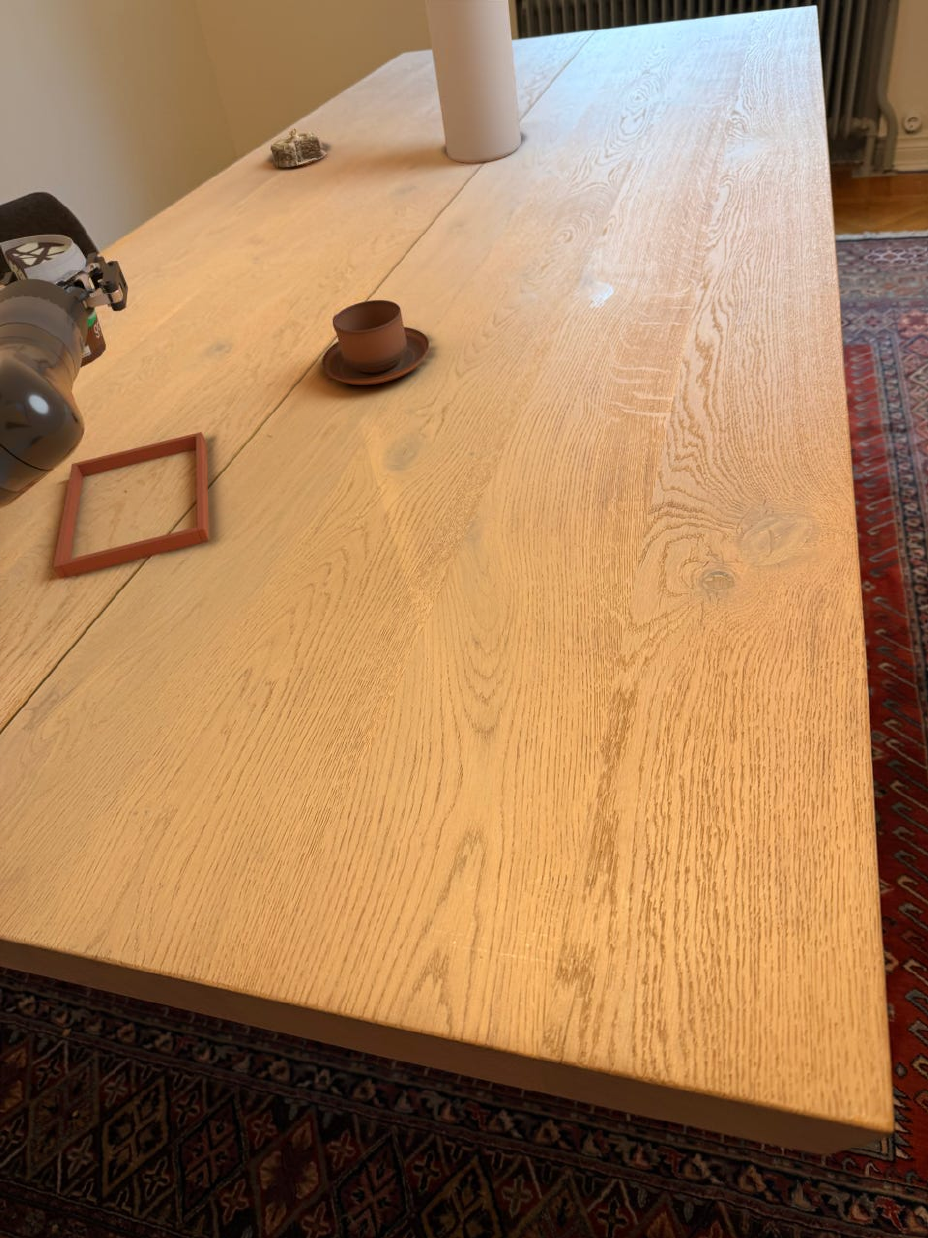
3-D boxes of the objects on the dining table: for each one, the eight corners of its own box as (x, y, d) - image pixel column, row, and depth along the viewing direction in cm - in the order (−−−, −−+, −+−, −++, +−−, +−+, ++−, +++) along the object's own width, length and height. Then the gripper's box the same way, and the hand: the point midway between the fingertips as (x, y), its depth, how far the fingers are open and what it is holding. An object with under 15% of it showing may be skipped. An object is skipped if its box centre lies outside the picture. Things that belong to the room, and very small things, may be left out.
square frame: (65, 588, 80) (53, 566, 78) (82, 484, 92) (71, 463, 91) (213, 550, 81) (203, 528, 79) (209, 452, 93) (201, 431, 91)
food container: (133, 356, 87) (94, 250, 81) (70, 377, 85) (25, 270, 79) (99, 322, 96) (61, 224, 89) (41, 341, 93) (-2, 241, 87)
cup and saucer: (307, 391, 100) (292, 339, 95) (355, 339, 107) (343, 289, 103) (405, 398, 95) (393, 344, 91) (448, 344, 103) (439, 291, 99)
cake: (263, 171, 164) (252, 139, 161) (299, 153, 170) (290, 122, 167) (301, 169, 159) (291, 136, 156) (338, 151, 164) (329, 118, 161)
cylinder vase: (485, 135, 159) (465, -38, 142) (537, 143, 151) (522, -38, 134) (432, 158, 154) (405, -19, 137) (483, 168, 146) (460, -18, 129)
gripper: (101, 277, 73) (114, 215, 85) (-78, 319, 72) (-39, 250, 84) (137, 363, 78) (144, 292, 90) (-30, 403, 77) (0, 326, 89)
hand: (56, 272), depth 87 cm, fingers closed on food container, 7 cm apart
